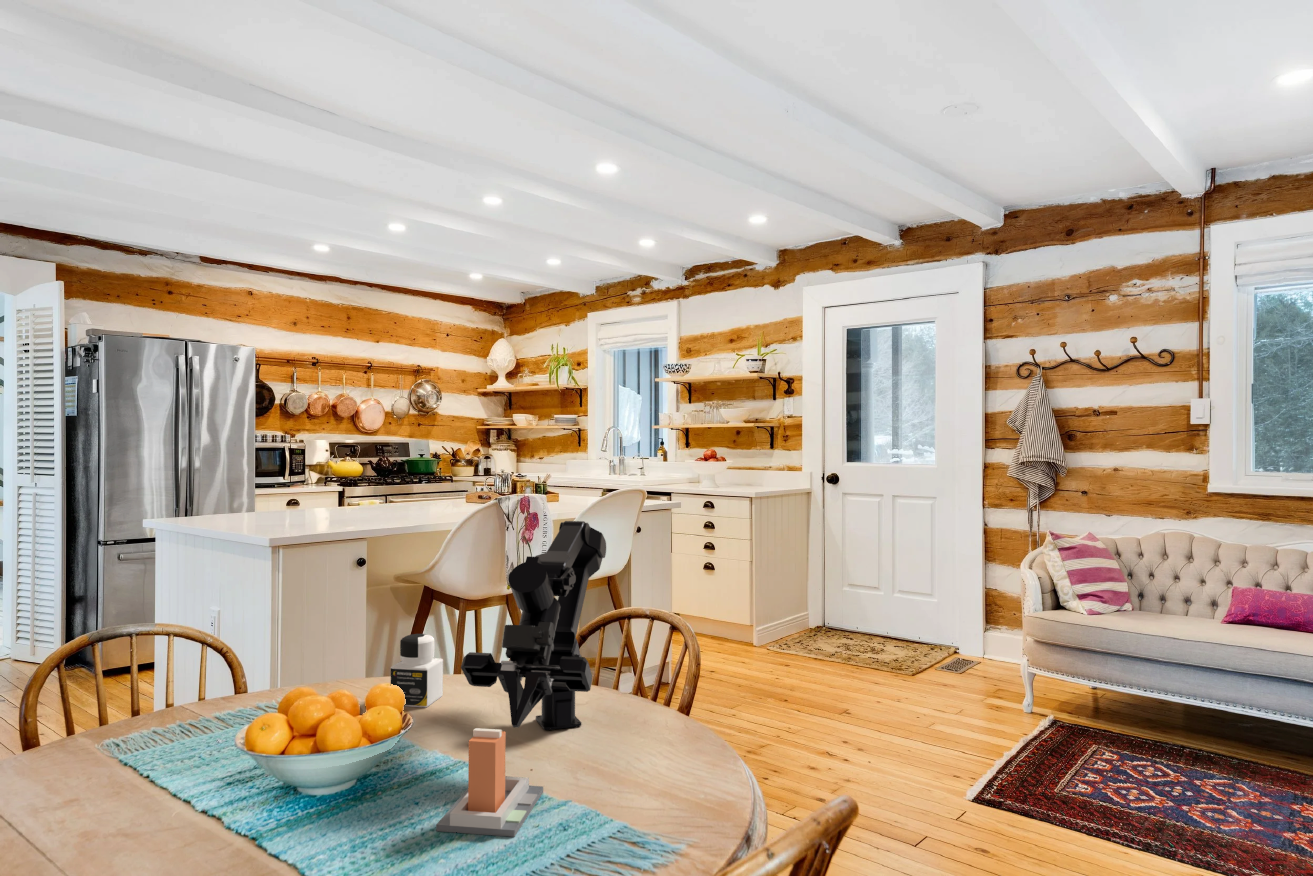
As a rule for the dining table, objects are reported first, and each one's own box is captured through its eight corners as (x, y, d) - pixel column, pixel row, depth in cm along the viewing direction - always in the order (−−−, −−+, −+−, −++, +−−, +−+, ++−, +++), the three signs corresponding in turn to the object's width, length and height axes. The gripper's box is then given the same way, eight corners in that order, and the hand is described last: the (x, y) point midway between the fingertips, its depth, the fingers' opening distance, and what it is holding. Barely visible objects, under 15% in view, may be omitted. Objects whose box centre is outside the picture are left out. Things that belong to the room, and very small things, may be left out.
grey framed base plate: (473, 787, 117) (473, 771, 117) (543, 792, 116) (543, 775, 116) (436, 831, 104) (436, 812, 104) (514, 836, 103) (514, 818, 103)
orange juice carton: (479, 802, 110) (479, 724, 110) (505, 804, 109) (505, 725, 109) (468, 816, 106) (468, 734, 106) (495, 818, 105) (495, 736, 105)
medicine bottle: (389, 706, 152) (390, 639, 152) (407, 694, 159) (408, 630, 159) (426, 708, 151) (427, 641, 151) (443, 696, 158) (443, 632, 158)
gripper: (465, 598, 126) (436, 695, 115) (588, 602, 123) (569, 702, 112) (483, 638, 133) (457, 732, 123) (598, 642, 131) (582, 739, 120)
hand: (514, 726), depth 119 cm, fingers closed
